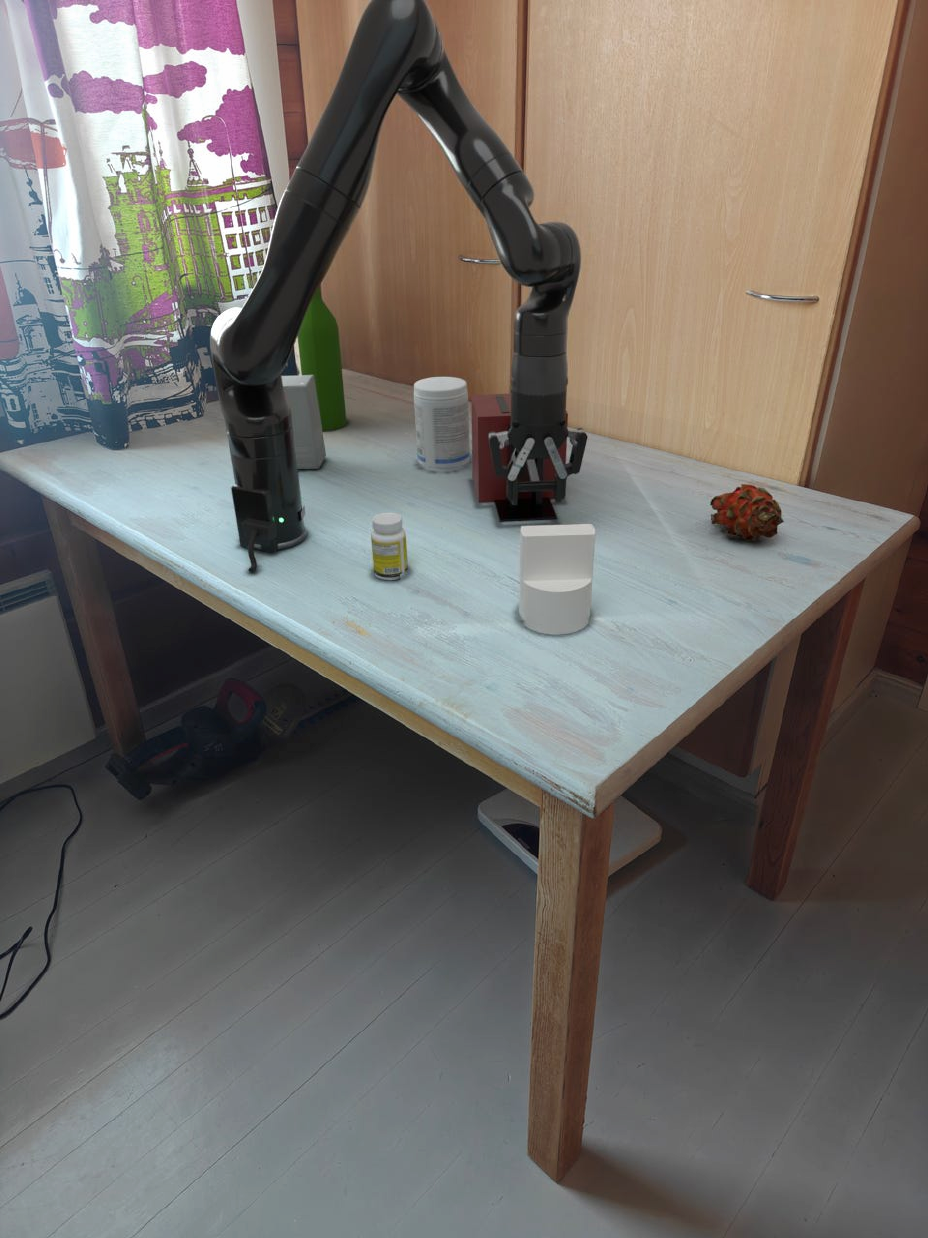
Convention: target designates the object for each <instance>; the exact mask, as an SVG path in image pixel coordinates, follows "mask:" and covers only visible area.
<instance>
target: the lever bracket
mask: <svg viewBox="0 0 928 1238" xmlns="http://www.w3.org/2000/svg"><path fill="white" fill-rule="evenodd" d="M509 426H510V425H508V427H509ZM505 442H506V446H507V467H508V465H509V463H510V460H511V457H512V454H513V452H514V450H515V447H514V446H513V444H512V443H511V442H510V440H509V439H507V440H506V441H505ZM534 460H535V464H536V468H537V472H538V476H539V481H543V459H541V458H536V459H534ZM493 503H494V508H495V511H496V515H497V518H498V522H499V523H509V522H510V523H511V522H512V523H513V522H531V521H532V522H533V521H551V520H555V521H557V520H558V516H557V513H556V511H555V508H554V505H553V503H552V500H550V499H549V497H547V498H542V491H532V498H525V499H518V500H517V505H512V502H511V501H509V500H508V498H507V499H503V500H494V502H493Z"/></svg>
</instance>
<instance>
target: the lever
mask: <svg viewBox="0 0 928 1238" xmlns="http://www.w3.org/2000/svg"><path fill="white" fill-rule="evenodd" d="M526 464H527V468H528V472H529V477H530V481H524V482H518V492H528V491H550V490H556V480H546V481H539V476H538V472H537V468H536V464H535V460H534V459H532V460H527V459H526Z"/></svg>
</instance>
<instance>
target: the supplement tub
mask: <svg viewBox="0 0 928 1238" xmlns="http://www.w3.org/2000/svg"><path fill="white" fill-rule="evenodd" d="M467 385H468V384H467V381H466V380H465V379H463V378H461V377H460V378H459V377H456V376H455V377H454V376H433V377H426V378H423V379H419V380H417V381H416V382H415V383H413V407H414V421H415V423H414V424H415V436H416V437H415V438H416V451H417V453H416V454H417V462H418V463H419V464H420V465H422V466H424V467H427V468H432V469H453V468H458V467H459V468H460V467H461V466H464V465H466V464H468V463H469V462H470V460H471V449H470V448H471V446H470V445H471V443H470V415H469V414H470V413H469V392H468V386H467Z"/></svg>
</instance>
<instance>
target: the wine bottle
mask: <svg viewBox="0 0 928 1238" xmlns="http://www.w3.org/2000/svg"><path fill="white" fill-rule="evenodd" d="M320 290H321V289H320V287H319V288H318V289H317V291H316V293H315V295H314V297H313V299H312V301H311V303H310V305H309V308H308V310H307V312H306V315H305V317H304V320H303V323H302V325H301V328H300V330H299V333H298V336H297V338H296V341H295V344H294V347H293V350H294V356H295V357H294V358H295V367H296V376H298V375H314V379H315V386H316V392H317V399H318V405H319V412H320V419H321V425H322V432H329V431H334V430H338V429H342V428H343V427H345V426H346V424H347V413H346V401H345V399H346V398H345V389H344V377H343V365H342V357H341V355H342V354H341V345H340V343H341V342H340V333H339V325H338V322H337V318H336V317H335V316H334V313H332V312H331V310H330V309H329V307H328V305H326V303H325V302H324V300H323V299H322V296H321V291H320Z"/></svg>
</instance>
